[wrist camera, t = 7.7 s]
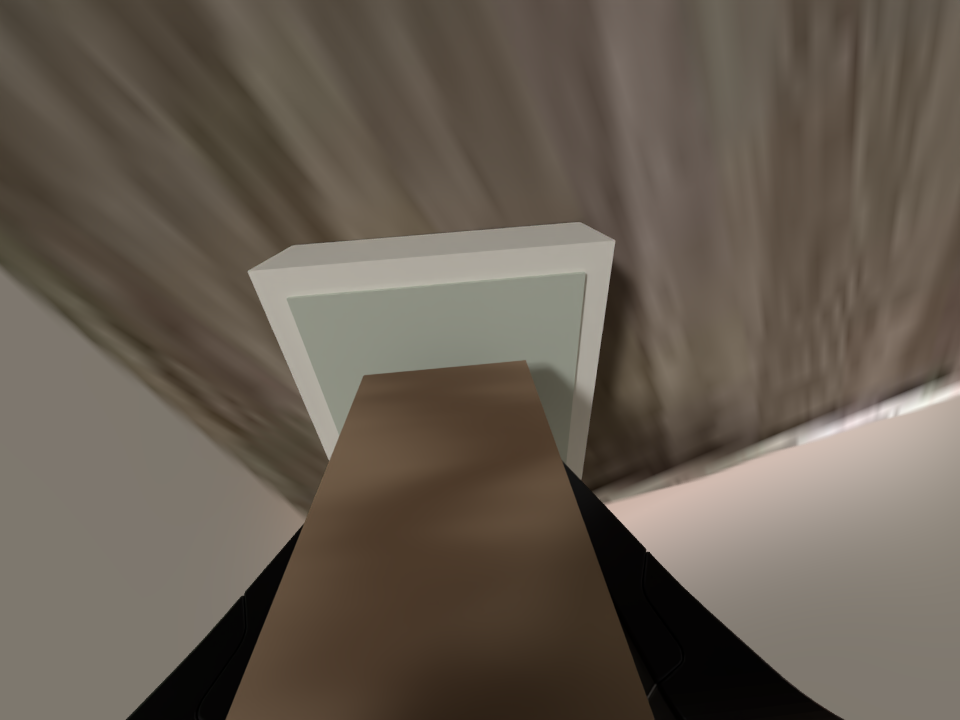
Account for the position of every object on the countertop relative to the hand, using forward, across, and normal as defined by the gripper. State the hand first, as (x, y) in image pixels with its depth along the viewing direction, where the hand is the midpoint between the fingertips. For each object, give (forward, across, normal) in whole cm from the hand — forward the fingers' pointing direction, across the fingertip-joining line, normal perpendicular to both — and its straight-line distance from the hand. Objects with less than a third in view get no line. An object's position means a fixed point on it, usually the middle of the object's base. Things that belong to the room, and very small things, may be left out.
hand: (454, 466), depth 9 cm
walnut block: (+2, 0, 0) cm, 2 cm away
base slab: (+6, 0, 0) cm, 6 cm away
